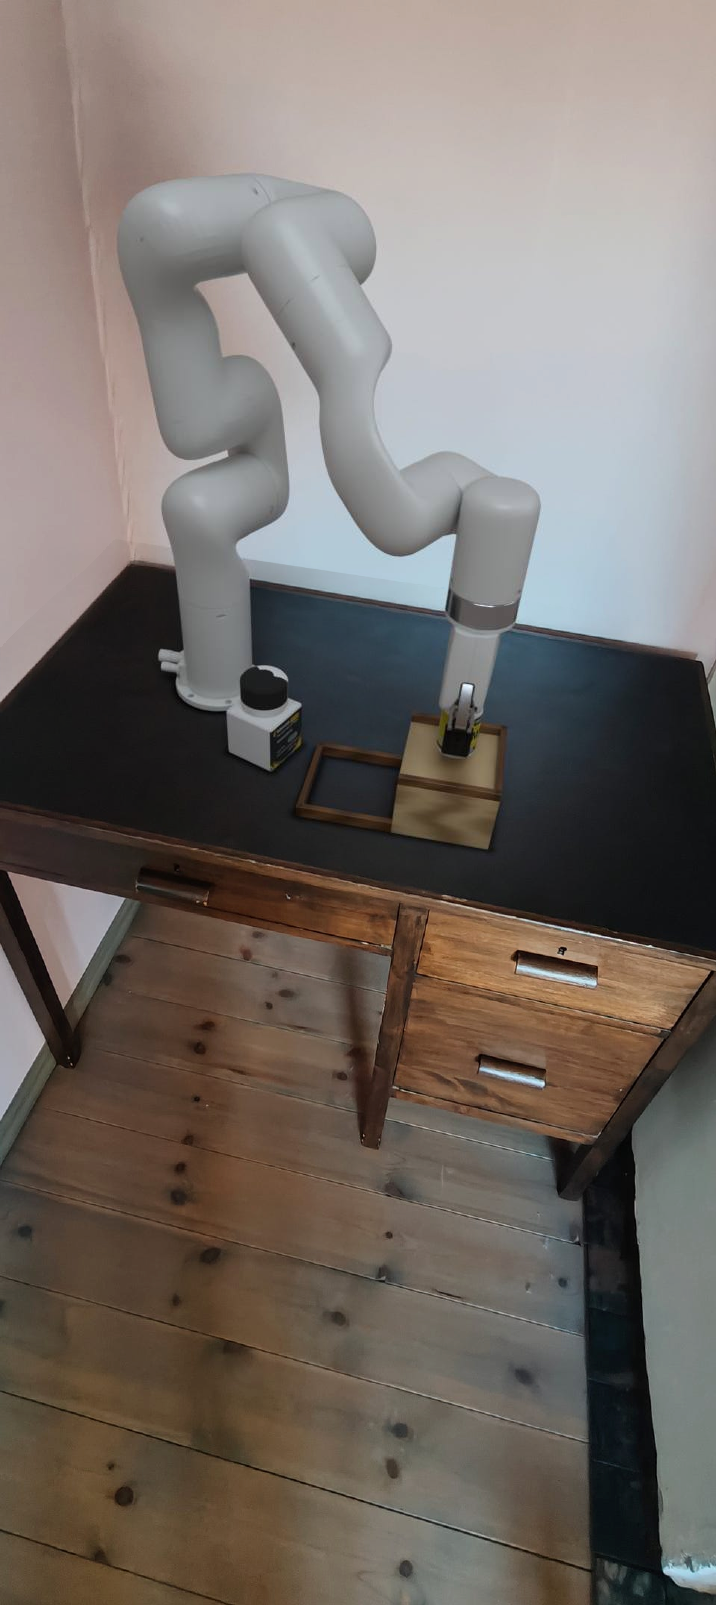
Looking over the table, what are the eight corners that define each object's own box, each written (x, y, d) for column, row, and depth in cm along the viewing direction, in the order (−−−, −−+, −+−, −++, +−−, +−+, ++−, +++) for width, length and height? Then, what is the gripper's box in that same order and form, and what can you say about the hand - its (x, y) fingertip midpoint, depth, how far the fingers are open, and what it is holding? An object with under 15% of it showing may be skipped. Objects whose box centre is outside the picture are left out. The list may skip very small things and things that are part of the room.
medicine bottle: (271, 773, 108) (270, 699, 100) (227, 752, 111) (223, 678, 102) (301, 744, 113) (303, 671, 104) (259, 725, 115) (257, 652, 107)
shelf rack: (295, 815, 103) (296, 759, 96) (318, 750, 112) (320, 695, 106) (487, 849, 101) (501, 794, 94) (494, 780, 110) (507, 725, 104)
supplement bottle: (473, 763, 97) (485, 706, 91) (433, 756, 98) (443, 698, 92) (476, 738, 101) (488, 681, 95) (438, 731, 101) (448, 674, 95)
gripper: (454, 560, 92) (433, 693, 105) (437, 641, 80) (416, 780, 93) (521, 570, 92) (492, 702, 104) (514, 653, 79) (483, 791, 92)
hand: (457, 738), depth 98 cm, fingers closed on supplement bottle, 4 cm apart
